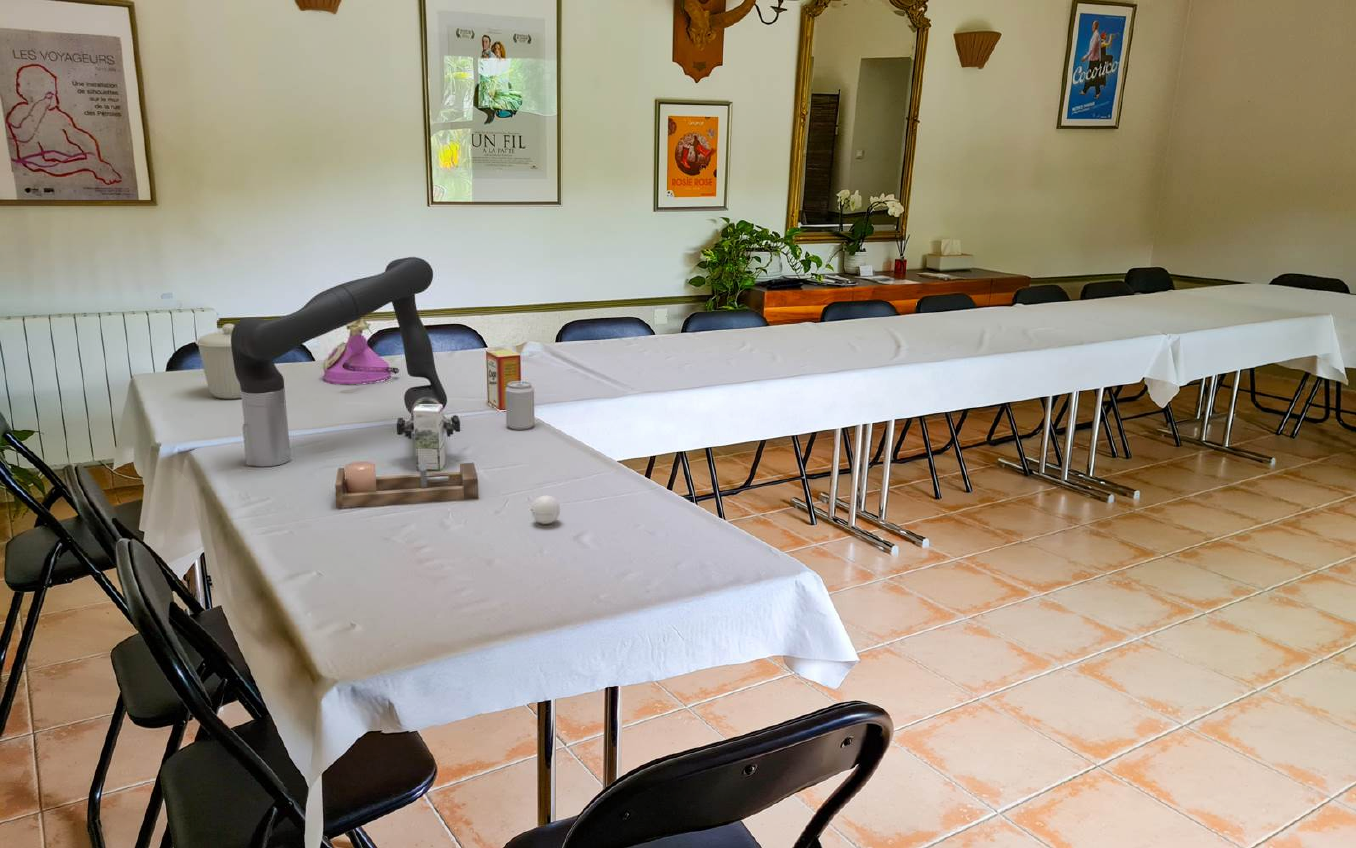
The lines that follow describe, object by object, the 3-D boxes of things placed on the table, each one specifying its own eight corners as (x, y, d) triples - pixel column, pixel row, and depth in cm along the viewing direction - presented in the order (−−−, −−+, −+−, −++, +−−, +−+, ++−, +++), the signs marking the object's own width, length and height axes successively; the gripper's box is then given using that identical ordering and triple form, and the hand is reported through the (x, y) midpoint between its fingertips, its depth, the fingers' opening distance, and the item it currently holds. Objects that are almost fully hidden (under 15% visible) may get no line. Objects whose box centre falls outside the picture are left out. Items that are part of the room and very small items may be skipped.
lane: (336, 508, 197) (335, 485, 195) (340, 490, 207) (338, 468, 206) (478, 498, 204) (477, 476, 203) (474, 481, 215) (473, 460, 213)
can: (507, 431, 253) (506, 386, 250) (504, 424, 260) (503, 380, 257) (536, 430, 255) (535, 385, 252) (532, 422, 262) (532, 379, 259)
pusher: (421, 497, 203) (420, 470, 201) (421, 487, 209) (419, 460, 208) (450, 495, 205) (448, 468, 203) (448, 485, 211) (447, 458, 209)
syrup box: (445, 463, 227) (443, 403, 223) (440, 471, 221) (437, 409, 217) (421, 463, 226) (418, 402, 223) (415, 471, 221) (412, 409, 217)
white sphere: (546, 515, 196) (545, 489, 194) (566, 522, 192) (565, 496, 191) (517, 526, 190) (516, 499, 188) (537, 533, 186) (537, 506, 185)
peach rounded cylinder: (346, 503, 200) (344, 471, 198) (347, 494, 205) (345, 462, 203) (376, 501, 201) (374, 469, 199) (377, 492, 207) (375, 460, 205)
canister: (252, 403, 275) (245, 330, 269) (189, 401, 275) (181, 328, 270) (279, 388, 292) (273, 319, 287) (219, 387, 293) (212, 317, 287)
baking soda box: (487, 404, 280) (486, 349, 276) (509, 401, 283) (507, 347, 279) (499, 412, 272) (498, 355, 268) (521, 409, 275) (520, 353, 271)
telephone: (319, 372, 315) (313, 295, 308) (390, 367, 324) (386, 292, 318) (331, 397, 284) (324, 312, 277) (409, 391, 293) (405, 308, 287)
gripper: (395, 401, 232) (395, 419, 217) (456, 398, 236) (461, 416, 221) (397, 431, 234) (397, 451, 219) (458, 428, 238) (462, 447, 223)
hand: (429, 433), depth 220 cm, fingers open, 8 cm apart
